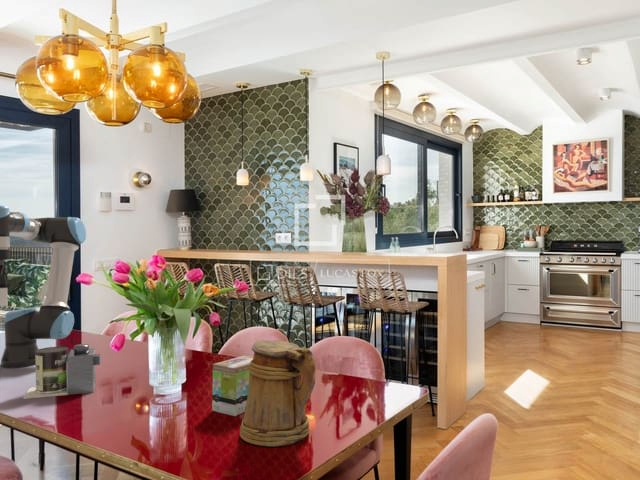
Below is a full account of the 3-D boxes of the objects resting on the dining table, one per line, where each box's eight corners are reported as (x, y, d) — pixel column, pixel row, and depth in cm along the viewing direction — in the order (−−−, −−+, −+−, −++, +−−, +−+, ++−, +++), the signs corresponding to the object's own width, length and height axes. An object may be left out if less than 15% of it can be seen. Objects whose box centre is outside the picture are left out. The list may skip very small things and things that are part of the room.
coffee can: (74, 386, 192) (74, 346, 192) (55, 394, 182) (54, 353, 181) (49, 384, 194) (48, 345, 194) (28, 393, 184) (27, 352, 183)
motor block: (70, 385, 195) (69, 343, 195) (101, 382, 198) (100, 341, 198) (66, 394, 184) (65, 349, 183) (99, 391, 187) (98, 347, 187)
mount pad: (30, 389, 191) (30, 387, 191) (71, 385, 195) (71, 383, 195) (23, 399, 179) (23, 397, 179) (67, 394, 184) (67, 392, 184)
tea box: (236, 417, 160) (236, 367, 160) (211, 411, 165) (211, 363, 165) (267, 403, 173) (267, 357, 172) (243, 398, 178) (242, 354, 178)
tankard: (270, 418, 158) (269, 334, 158) (336, 435, 145) (335, 342, 145) (226, 437, 144) (225, 344, 143) (295, 458, 130) (294, 355, 130)
